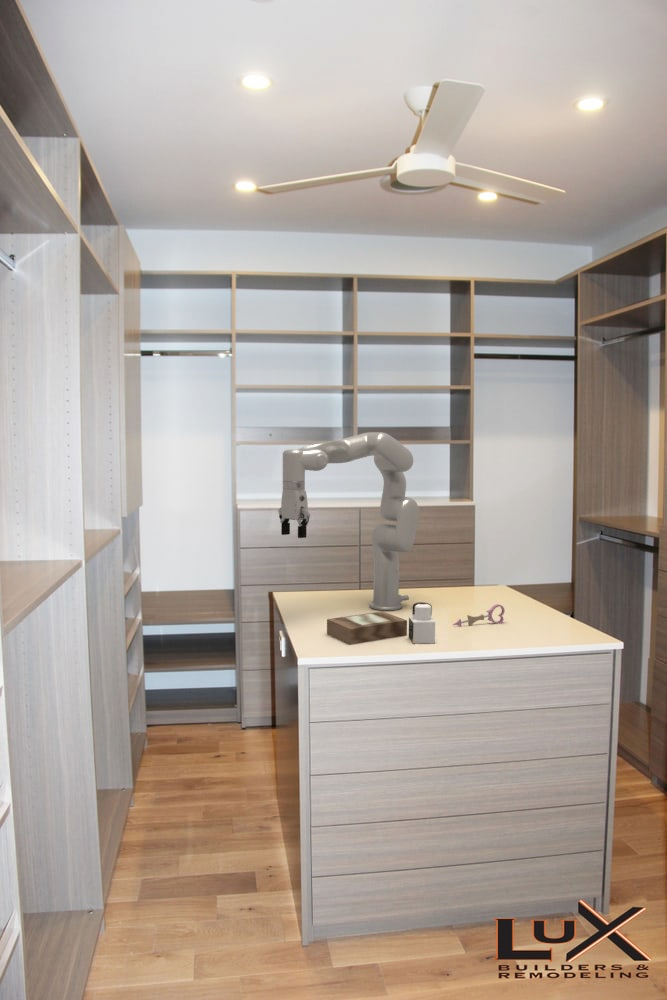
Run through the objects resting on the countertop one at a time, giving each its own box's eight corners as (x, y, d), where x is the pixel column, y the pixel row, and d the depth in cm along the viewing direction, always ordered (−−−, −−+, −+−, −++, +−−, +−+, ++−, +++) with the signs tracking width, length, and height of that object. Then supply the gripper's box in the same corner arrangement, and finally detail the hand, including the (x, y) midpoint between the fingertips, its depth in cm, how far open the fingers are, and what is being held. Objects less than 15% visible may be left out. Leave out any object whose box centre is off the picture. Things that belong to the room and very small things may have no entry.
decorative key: (453, 634, 254) (504, 621, 260) (454, 635, 253) (506, 622, 259) (450, 615, 253) (502, 602, 259) (452, 616, 252) (503, 603, 258)
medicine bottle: (408, 637, 239) (409, 601, 238) (430, 637, 239) (430, 600, 238) (412, 643, 232) (413, 606, 231) (435, 643, 232) (435, 605, 231)
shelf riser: (382, 625, 254) (382, 610, 253) (406, 635, 242) (407, 619, 241) (326, 634, 242) (326, 618, 242) (349, 644, 230) (350, 628, 230)
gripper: (317, 487, 247) (317, 538, 248) (288, 484, 260) (288, 532, 262) (299, 488, 242) (299, 540, 244) (270, 485, 256) (270, 534, 257)
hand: (293, 536), depth 253 cm, fingers open, 9 cm apart
